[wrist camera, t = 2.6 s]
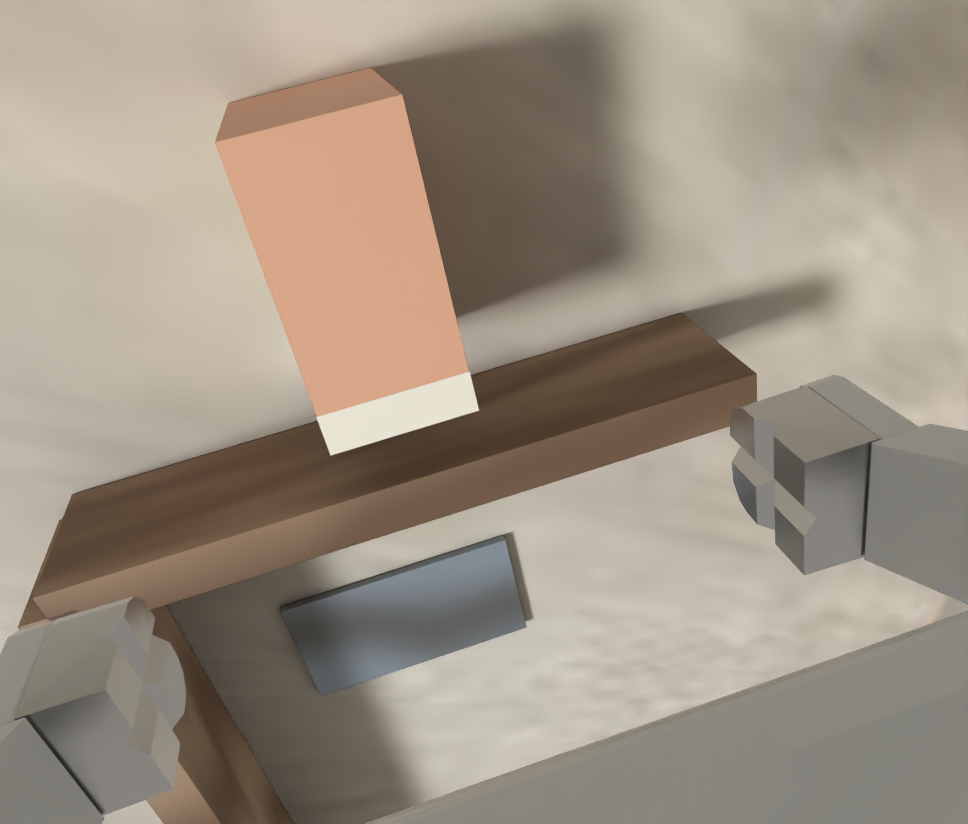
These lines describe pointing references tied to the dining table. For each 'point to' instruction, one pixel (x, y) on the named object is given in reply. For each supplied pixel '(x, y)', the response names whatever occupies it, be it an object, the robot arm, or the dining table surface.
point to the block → (349, 254)
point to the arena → (371, 528)
